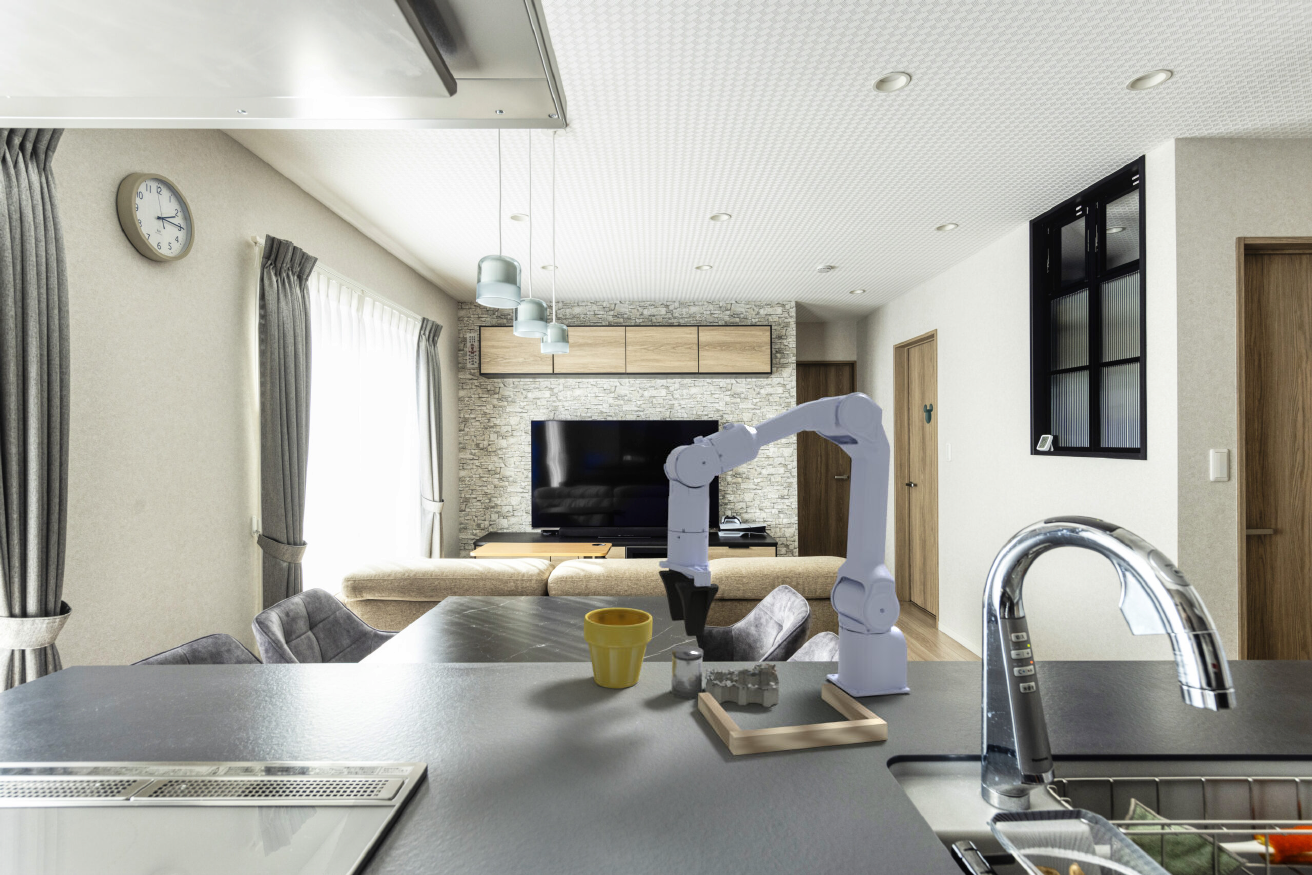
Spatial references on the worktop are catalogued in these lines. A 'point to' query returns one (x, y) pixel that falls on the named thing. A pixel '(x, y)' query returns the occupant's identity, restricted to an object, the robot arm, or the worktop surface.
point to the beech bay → (798, 727)
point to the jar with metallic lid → (686, 672)
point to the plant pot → (617, 644)
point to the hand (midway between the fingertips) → (686, 627)
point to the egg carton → (745, 685)
